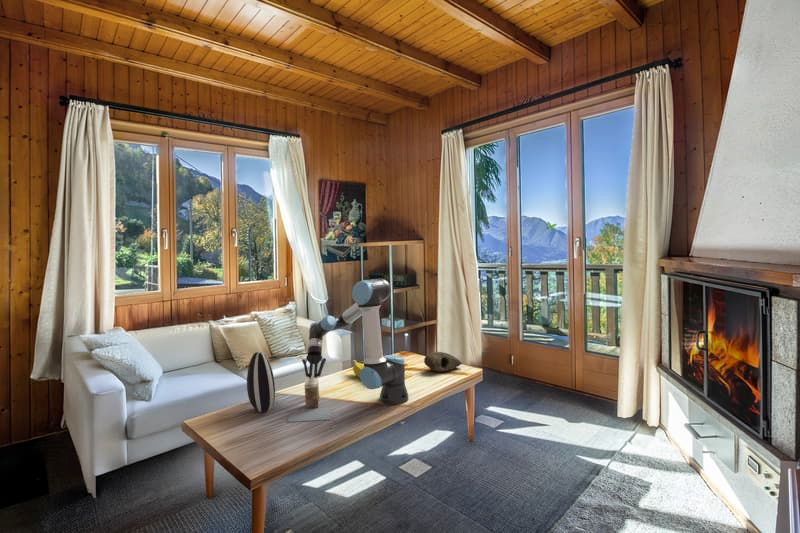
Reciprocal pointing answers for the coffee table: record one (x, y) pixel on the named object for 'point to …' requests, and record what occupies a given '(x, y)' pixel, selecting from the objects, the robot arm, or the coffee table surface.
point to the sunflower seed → (260, 383)
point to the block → (312, 393)
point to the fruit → (357, 368)
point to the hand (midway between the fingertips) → (312, 388)
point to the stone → (441, 361)
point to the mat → (310, 414)
